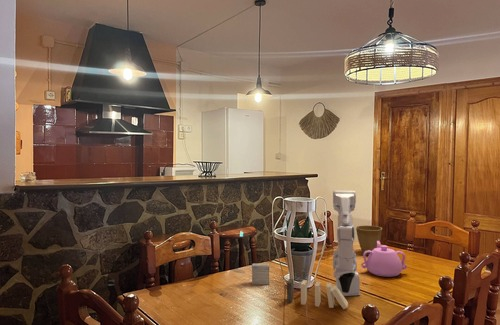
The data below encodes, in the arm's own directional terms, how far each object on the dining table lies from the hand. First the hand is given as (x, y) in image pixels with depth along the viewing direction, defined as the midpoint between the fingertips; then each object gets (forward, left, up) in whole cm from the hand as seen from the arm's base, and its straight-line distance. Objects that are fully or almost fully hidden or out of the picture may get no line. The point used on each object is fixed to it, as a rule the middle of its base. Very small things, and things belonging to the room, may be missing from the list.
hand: (345, 292), depth 139 cm
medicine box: (+29, -30, -6) cm, 42 cm away
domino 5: (0, 0, -6) cm, 6 cm away
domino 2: (+15, -7, -6) cm, 17 cm away
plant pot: (-43, -72, -6) cm, 85 cm away
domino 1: (+20, -9, -6) cm, 23 cm away
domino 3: (+10, -4, -6) cm, 12 cm away
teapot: (-35, -39, -6) cm, 53 cm away
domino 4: (+5, -2, -6) cm, 8 cm away
